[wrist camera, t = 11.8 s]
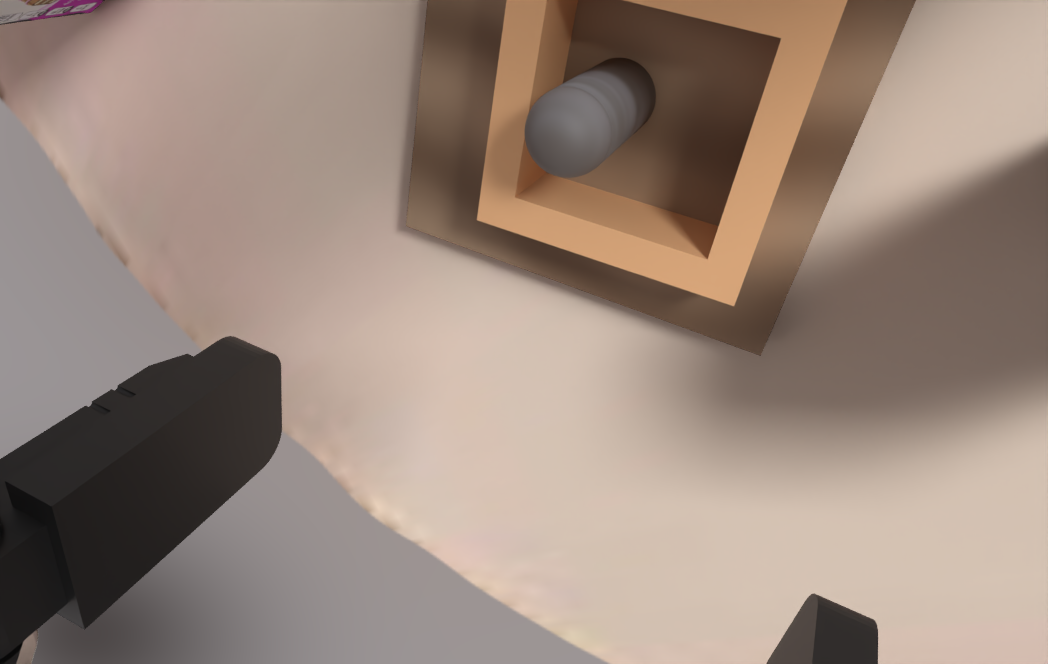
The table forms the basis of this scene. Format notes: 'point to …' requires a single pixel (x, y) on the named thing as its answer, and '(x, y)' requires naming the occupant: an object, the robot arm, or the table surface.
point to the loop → (628, 225)
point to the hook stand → (644, 140)
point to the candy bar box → (43, 9)
